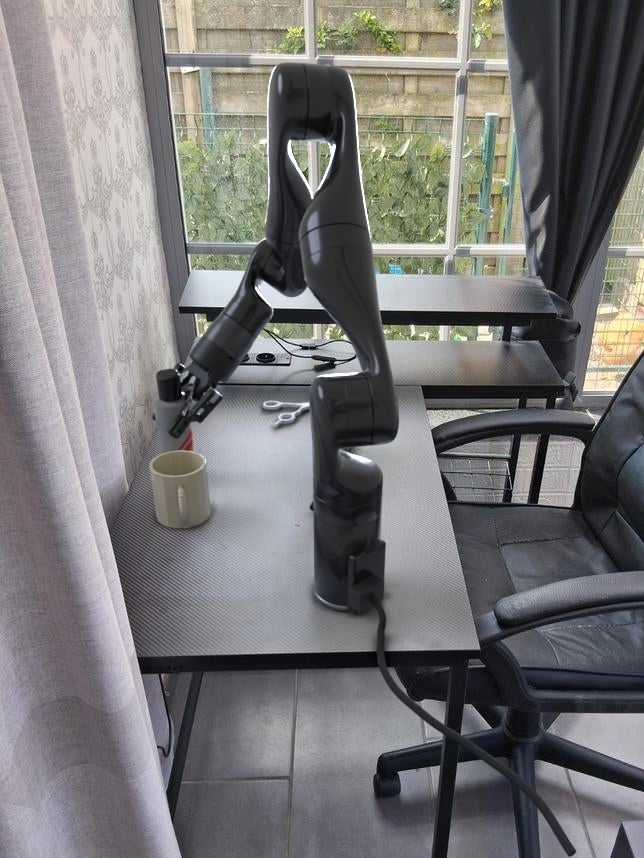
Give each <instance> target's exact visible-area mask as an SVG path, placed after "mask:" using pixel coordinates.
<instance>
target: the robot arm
mask: <svg viewBox="0 0 644 858" xmlns="http://www.w3.org/2000/svg"><path fill="white" fill-rule="evenodd" d="M292 141H294V142H307V143H308V142H311V143H326V144H327V145H329V148H330V153H331V155H330V156H331V157H330V161H329V165H328V167H327V169H326V171H325V174H324V176H323V179H322V181H321V183H320V185H319V186H318V189H317V190H316V192H315V193H314V195H313V192H312V190H311V187H310V186H309V184H308V181H307V180H306V178H305V176H304V175H303V173H302V171H301V170H300V168H299V167H298V165H297V162H296V160H295V158H294V156H293V153H292V147H291V142H292ZM267 168H268V173H267V174H268V197H267V206H266V207H267V208H266V214H265V224H264V237H265V238H263V239H261V240H260V241H259V242H257V243H256V245H254V248H253V249H252V251H251V254H250V256H249V258H248V261H247V264H246V267H245V270H244V273H243V275H242V278H241V279H240V282H239V285H238V287H237V289H236V291H235V293H234V294H233V296H232V297H231V298H230V300H229V301H228V303H227V304H226V305H225V307H224V308H223V309H222V311H221V312H220V313H219V315H218V316H217V317H216V318H215V319H214V320H213V321H212V322H211V324H210V325H209V326H208V328H207V329H206V331H205V332H204V333H203V334H202V336H201V337H200V338H199V340H198V341H197V343H196V344H195V345H194V347H193V348H192V350H191V351H190V352H189V354H188V356H189V359H190V360H192V361H191V363H190V364H189V365H187V366H185V365H184V364H182V363H180V362H176V363H175V365H174V366H173V368H172V369H175V370H177V372H178V373H179V374H180V380H181V389H182V394H184V395H185V397H184V402H185V404H184V406H183V409H182V411H181V415H182V416H181V415H180V414H179V415H178V416H177V418H176V419H175V421H174V422H173V423H172V425H171V426H170V427H169V429H168V430H167V433H168V434H169V435H170V436H172V437H174V438H175V439H178V438H179V437H180V436H181V435H182V434H183V432H184V431H185V430H186V428H187V427H188V426H189V424H190V423H191V424H192V423H194V422H197V424H202V423H203V422H204V421H205V420H206V419H207V417H208V416H209V415H210V414H211V413H212V412H213V411H214V410H215V408H216V407H217V406H218V405H219V404H220V402H222V401H223V398H224V396H223V395H222V394H221V393H220V392H219V391H217V387H218V384H219V383H220V382H222V383H227V382H228V381H229V380H230V378H231V377H232V376H233V374H234V373H235V371H236V370H237V369H238V367H239V366H240V365H241V363H242V362H243V360H244V359H245V357H246V356H247V355H248V353H250V351H251V349H252V347H253V345H254V343H255V341H256V340H257V338H258V337H259V335H260V334H261V332H263V330H264V328H265V327H266V326H267V324H268V323H269V322H270V321H271V319H272V317H273V316H274V309H273V307H272V305H271V304H270V302H269V301H268V300H267V299H266V298H265V297H264V296H263V295H262V293H261V285H262V284H263V282H264V283H266V284H267V285H268V286H270V287H271V288H272V289H274V290H275V291H277V292H279V294H281V295H282V296H284V297H287V298H297V297H299V296H301V295H303V294H304V293H305V292H306V291H307V289H309V291H310V292H311V294H312V296H313V297H314V298H315V300H316V301H317V302H318V303H319V304H320V306H321V307H322V308H323V309H324V310H325V312H326V313H327V314H328V315H329V316H330V317H331V319H332V320H333V321H334V322H335V323H336V325H338V327H339V328H340V329H341V331H342V332H343V334H344V335H345V336H346V338H347V339H348V341H349V342H350V344H351V346H352V348H353V351H354V353H355V355H356V357H357V360H358V363H359V366H360V369H361V372H344V373H328V374H321V375H317V376H316V377H315V378H314V379H312V382H311V385H310V388H309V394H308V395H309V396H308V402H309V409H308V411H309V421H310V434H311V452H312V454H311V455H312V489H313V490H312V497H313V500H312V502H313V511H312V512H313V514H312V515H313V570H314V571H313V579H314V580H313V581H314V582H313V595H314V597H315V599H316V600H317V601H318V602H319V603H320V604H321V605H322V606H324V607H326V608H329V609H331V610H335V611H340V612H348V613H350V614H351V615H356V614H357V613H359V614H361V613H363V612H364V611H366V610H367V609H369V608H370V607H372V606H373V607H374V609H375V611H376V613H377V616H378V625H377V629H376V630H377V632H376V662H377V666H378V669H379V671H380V673H381V675H382V678H383V680H384V682H385V683H386V685H387V687H388V688H389V690H390V691H391V692H392V693H393V694H394V696H396V698H397V699H398V700H400V701H401V702H402V703H403V704H404V705H405V706H406V707H407V708H408V709H409V710H411V711H412V712H413V713H414V714H415V715H417V716H418V717H419V718H420V719H421V720H423V721H424V722H425V723H427V724H428V725H429V726H430V727H432V728H433V729H435V730H436V731H438V732H439V733H440V734H442V735H444V736H445V737H446V738H449V739H450V740H452V741H453V742H455V743H456V744H458V745H460V746H461V747H463V748H465V749H466V750H467V751H469V752H470V753H471V754H473V755H475V756H476V757H477V758H478V759H480V760H481V761H483V762H484V763H485V764H487V765H488V766H490V767H491V768H492V769H494V770H496V771H497V772H498V773H500V774H501V775H502V776H504V777H505V778H506V779H508V780H509V781H511V783H512V784H514V785H515V787H517V788H518V789H519V790H520V791H522V793H523V794H524V795H525V796H526V797H527V798H528V799H529V800H530V801H531V802H532V803H533V805H534V806H535V807H536V808H537V809H538V811H539V812H540V813H541V815H542V816H543V818H544V819H545V821H546V822H547V824H548V826H549V827H550V829H551V831H552V833H553V834H554V836H555V838H556V840H557V841H558V843H559V844H560V846H561V847H562V849H563V851H564V852H565V854H566V855H567V857H568V858H571V857H573V856H574V855H576V853H577V849H576V848H575V846H574V845H573V844H572V842H571V841H570V839H569V837H568V836H567V834H566V832H565V831H564V829H563V827H562V826H561V824H560V822H559V821H558V819H557V818H556V816H555V815H554V812H553V811H552V810H551V809H550V807H549V806H548V804H547V803H546V802H545V801H544V799H543V798H542V797H541V796H540V795H539V794H538V793H537V791H536V790H534V788H533V787H532V786H531V785H530V784H529V783H528V782H527V781H526V780H524V778H522V777H521V776H520V775H518V773H516V772H515V771H513V770H512V769H511V768H510V767H508V766H507V765H506V764H504V763H502V761H500V760H499V759H497V758H496V757H494V756H493V755H491V754H490V753H489V752H487V751H486V750H484V749H483V748H482V747H480V746H479V745H477V744H475V743H474V742H473V741H471V740H470V739H469V738H467V737H465V736H464V735H462V734H461V733H459V732H458V731H456V730H454V729H452V728H451V727H449V726H447V725H446V724H444V723H443V722H441V721H440V720H438V719H437V718H435V717H434V716H433V715H432V714H430V713H429V712H428V711H427V710H426V709H424V708H423V707H422V706H420V705H419V704H418V703H417V702H415V701H414V700H413V699H412V698H411V697H410V696H409V695H408V694H406V692H405V691H403V690H402V689H401V687H400V686H399V685H398V684H397V683H396V681H395V680H394V678H393V677H392V675H391V673H390V671H389V669H388V665H387V663H386V657H385V638H386V635H385V632H386V628H387V615H386V611H385V609H384V607H383V604H382V603H381V602H380V601H381V600H383V599H384V598H385V569H386V554H387V553H386V552H387V543H386V541H385V540H383V539H381V537H382V536H381V533H382V513H383V512H382V511H383V489H384V475H383V471H382V469H381V468H380V466H379V465H378V464H377V462H375V461H373V460H371V459H369V458H367V457H365V456H362V455H358V454H355V453H353V452H352V453H348V452H346V451H343V450H341V449H340V448H351V447H355V448H360V447H371V446H381V445H387V444H390V443H393V442H394V441H395V440H396V438H397V436H398V432H399V428H400V411H399V402H398V395H397V390H396V384H395V380H394V374H393V371H392V365H391V359H390V356H389V352H388V347H387V343H386V337H385V333H384V327H383V323H382V319H381V318H382V316H381V309H380V301H379V293H378V285H377V284H378V283H377V276H376V275H377V274H376V267H375V265H376V264H375V258H374V257H375V256H374V250H373V244H372V243H373V242H372V236H371V231H370V225H369V219H368V214H367V213H368V212H367V208H366V202H365V201H366V200H365V194H364V189H363V181H362V173H361V161H360V150H359V134H358V121H357V109H356V97H355V90H354V84H353V82H352V78H351V76H350V73H349V72H348V71H347V70H346V69H345V68H343V67H341V66H338V65H331V64H323V63H322V64H321V63H308V62H293V61H292V62H291V61H289V62H280V63H278V64H277V65H276V66H275V67H274V68H273V70H272V72H271V75H270V79H269V84H268V93H267ZM189 409H190V411H189ZM201 411H202V412H201ZM151 419H152V420H153V421H155V422H156V418H155V411H154V412H153V414H152V415H151Z"/></svg>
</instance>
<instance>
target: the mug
mask: <svg viewBox="0 0 644 858" xmlns="http://www.w3.org/2000/svg"><path fill="white" fill-rule="evenodd" d="M148 465H149V474H150V481H151V487H152V488H151V489H152V495H153V501H154V502H153V503H154V509H155V516H156V520H157V521H158V523H160V525H162V526H165V527H168V528H171V529H188V528H193V527H196V526H198V525H201V524H203V523H204V522H205V521H207V520H208V519H209V518H210V516H211V500H210V490H209V479H208V470H207V461H206V457H204V456H203V454H201V453H200V452H196V451H194V452H193V451H186V450H177V451H169V452H166V453H162V454H160V453H159V454H158V455H157V456H154V457H153V458H152V459H151V461H150V462H149V464H148Z"/></svg>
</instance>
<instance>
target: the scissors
mask: <svg viewBox="0 0 644 858" xmlns="http://www.w3.org/2000/svg"><path fill="white" fill-rule="evenodd" d="M286 407H287V408H288V407H289V408H298V410H296V411H293V412H283V413H281V414H280V415H278V417H277V419H278V420H277V421H276V422H274V423H273V427H274V428H278V427H279V426H280V425H282V424H290V423H293V422H294V421H295V420H296V416H298V415H300V414H301V413H302V412H304V411H306V410H309V401H307V402H299V403H298V402H296V403H294V402H281V401H278V400H267V401H264V402H263V403H262V408H263V409H264V410H269V411H273V410H275V411H276V410H279V409H280V408H286ZM285 418H287V419H285Z"/></svg>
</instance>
